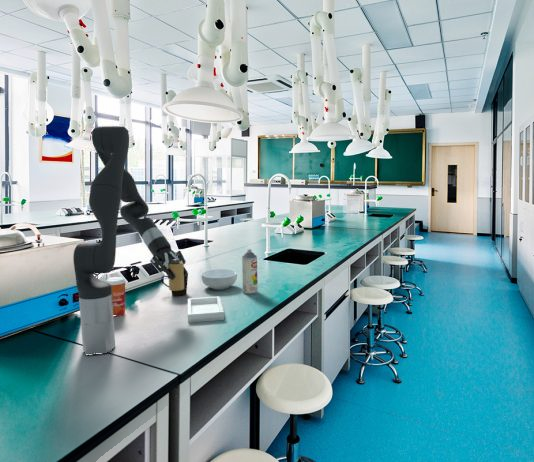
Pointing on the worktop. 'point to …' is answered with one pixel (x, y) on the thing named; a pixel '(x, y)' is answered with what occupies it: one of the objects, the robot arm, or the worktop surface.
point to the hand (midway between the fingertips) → (179, 276)
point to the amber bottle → (176, 275)
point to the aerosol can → (249, 273)
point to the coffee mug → (179, 292)
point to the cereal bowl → (219, 278)
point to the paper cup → (117, 294)
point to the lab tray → (205, 309)
